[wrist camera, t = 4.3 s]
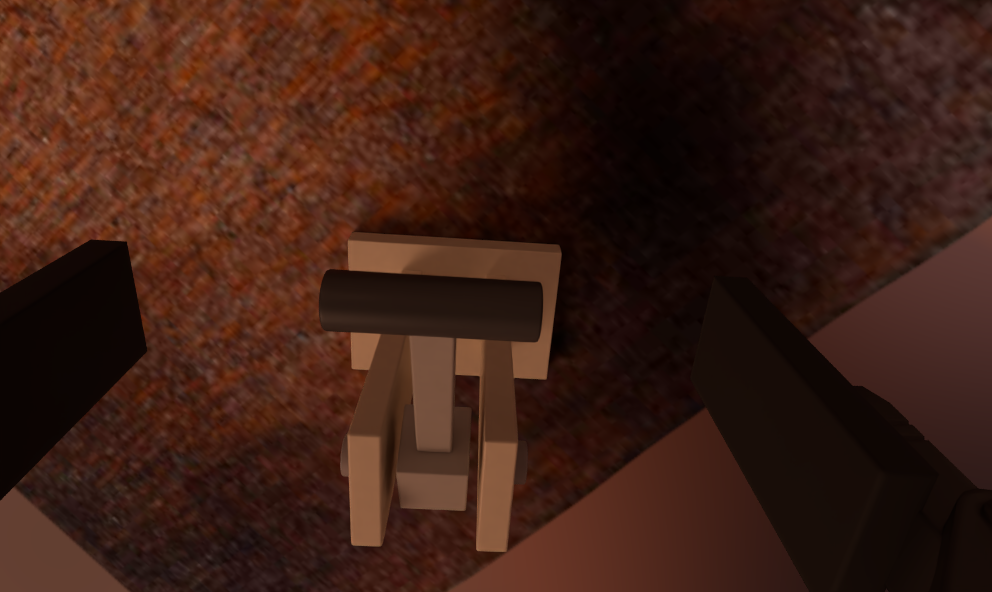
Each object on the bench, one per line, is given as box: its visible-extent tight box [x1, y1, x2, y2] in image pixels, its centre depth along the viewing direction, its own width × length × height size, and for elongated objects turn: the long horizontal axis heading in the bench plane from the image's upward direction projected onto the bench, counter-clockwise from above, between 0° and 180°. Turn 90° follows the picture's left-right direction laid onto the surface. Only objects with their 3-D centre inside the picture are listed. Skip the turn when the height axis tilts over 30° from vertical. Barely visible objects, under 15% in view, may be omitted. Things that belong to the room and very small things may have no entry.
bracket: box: [340, 232, 562, 552], centre depth 25 cm, size 7×10×14 cm
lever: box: [319, 269, 543, 511], centre depth 18 cm, size 10×5×2 cm, turn 177°
